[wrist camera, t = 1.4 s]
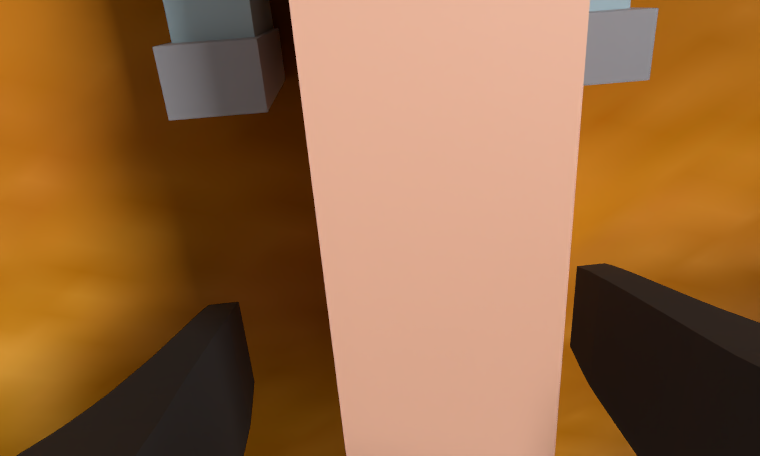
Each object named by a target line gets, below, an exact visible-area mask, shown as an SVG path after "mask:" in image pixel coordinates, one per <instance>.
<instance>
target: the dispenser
mask: <svg viewBox="0 0 760 456" xmlns="http://www.w3.org/2000/svg"><path fill="white" fill-rule="evenodd" d="M630 1H631V0H590V7H589V20H588V32H587V45H586V58H585V71H584V84H583V85H595V84H607V83H619V82H630V81H642V80H649V78H650V70H651V62H652V54H653V47H654V39H655V31H656V23H657V15H658V8H630ZM163 4H164V9H165V13H166V18H167V23H168V28H169V33H170V37H171V42H170V43H166V44H162V45H158V46H154V47H153V52H154V56H155V61H156V65H157V70H158V74H159V79H160V83H161V88H162V92H163V97H164V101H165V106H166V110H167V114H168V119H169V121H170V120H182V119H194V118H205V117H217V116H229V115H241V114H253V113H264V112H268V111H269V109H270V107H271V105H272V103H273V101H274V100H275V98H276V96H277V94H278V92H279V90H280V89H281V87H282V85H283V83H284V81H285V72H284V65H283V57H282V50H281V42H280V35H279V28H273V21H272V14H271V6H270V0H163Z"/></svg>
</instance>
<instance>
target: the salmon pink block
mask: <svg viewBox="0 0 760 456" xmlns="http://www.w3.org/2000/svg"><path fill="white" fill-rule="evenodd" d="M289 5H290V13H291V21H292V29H293V37H294V45H295V53H296V61H297V69H298V77H299V85H300V93H301V101H302V109H303V117H304V124H305V132H306V140H307V148H308V156H309V164H310V172H311V180H312V188H313V196H314V204H315V212H316V220H317V228H318V236H319V243H320V251H321V259H322V267H323V275H324V283H325V291H326V299H327V307H328V315H329V323H330V331H331V339H332V347H333V355H334V362H335V370H336V378H337V386H338V394H339V402H340V410H341V418H342V426H343V434H344V442H345V450H346V456H555V443H556V430H557V417H558V404H559V392H560V379H561V366H562V353H563V340H564V327H565V315H566V302H567V289H568V276H569V263H570V250H571V238H572V225H573V212H574V199H575V186H576V173H577V161H578V148H579V135H580V122H581V109H582V97H583V84H584V71H585V58H586V45H587V32H588V20H589V7H590V0H289Z"/></svg>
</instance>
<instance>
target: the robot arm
mask: <svg viewBox="0 0 760 456" xmlns="http://www.w3.org/2000/svg"><path fill="white" fill-rule="evenodd" d="M570 347H571V349H572V351H573V353H574V355H575V357H576V359H577V362H578V364H579V366H580V368H581V370H582V372H583V374H584V376H585V378H586V380H587V382H588V383H589V385H590V387H591V388H592V390H593V392H594V393H595V395H596V396H597V398H598V399H599V401H600V402H601V403H602V405H603V406H604V408H605V409H606V411H607V412H608V414H609V415H610V417H611V418H612V420H613V421H614V423H615V424H616V426H617V427H618V428H619V430H620V431H621V433H622V434H623V436H624V437H625V439H626V440H627V441H628V443H629V444H630V446H631V447H632V449H633V450H634V452H635V453H636V455H637V456H760V323H758V322H756V321H753V320H750V319H747V318H745V317H742V316H739V315H736V314H734V313H731V312H728V311H725V310H723V309H720V308H717V307H715V306H712V305H710V304H707V303H705V302H702V301H700V300H697V299H695V298H692V297H690V296H687V295H685V294H682V293H680V292H678V291H675V290H673V289H670V288H668V287H666V286H663V285H661V284H658V283H656V282H654V281H651V280H649V279H646V278H644V277H642V276H639V275H637V274H634V273H632V272H629V271H626V270H624V269H621V268H618V267H615V266H612V265H609V264H605V263H604V264H595V265H585V266H577V274H576V285H575V296H574V308H573V319H572V331H571V342H570ZM253 393H254V377H253V372H252V367H251V362H250V357H249V352H248V347H247V342H246V337H245V332H244V327H243V322H242V317H241V312H240V307H239V302H232V303H223V304H213V305H208V306H207V307H206V308H204V309H203V310H202V311H201V312H200V313H199V314H198V315H197V316H196V317H194V318H193V319H192V320H191V321H190V322H189V323H188V324H187V325H186V326H185V327H184V328H183V329H182V330H181V331H180V332H179V333H178V334H177V335H175V336H174V337H173V338H172V339H171V340H170V341H169V342H168V343H167V344H166V345H165V346H164V347H162V348H161V349H160V350H159V351H158V352H157V353H156V354H155V355H154V356H153V357H152V358H150V359H149V360H148V361H147V362H146V363H145V364H143V365H142V366H141V367H140V368H139V369H137V370H136V371H135V372H134V373H133V374H131V375H130V376H129V377H128V378H127V379H126V380H124V381H123V382H122V383H121V384H120V385H118V386H117V387H116V388H115V389H114V390H112V391H111V392H110V393H109V394H107V395H106V396H105V397H103V398H102V399H101V400H99V401H98V402H97V403H95V404H94V405H93V406H91V407H90V408H89V409H87V410H86V411H84V412H83V413H82V414H80V415H79V416H77V417H76V418H74V419H73V420H72V421H70V422H69V423H67V424H66V425H64V426H63V427H62V428H60V429H59V430H57V431H56V432H54V433H53V434H51V435H49V436H48V437H46V438H44V439H43V440H41V441H39V442H38V443H36V444H35V445H33V446H31V447H30V448H28V449H26V450H25V451H23V452H21V453H20V454H18V455H17V456H244V452H245V447H246V443H247V438H248V434H249V429H250V424H251V414H252V404H253Z"/></svg>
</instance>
